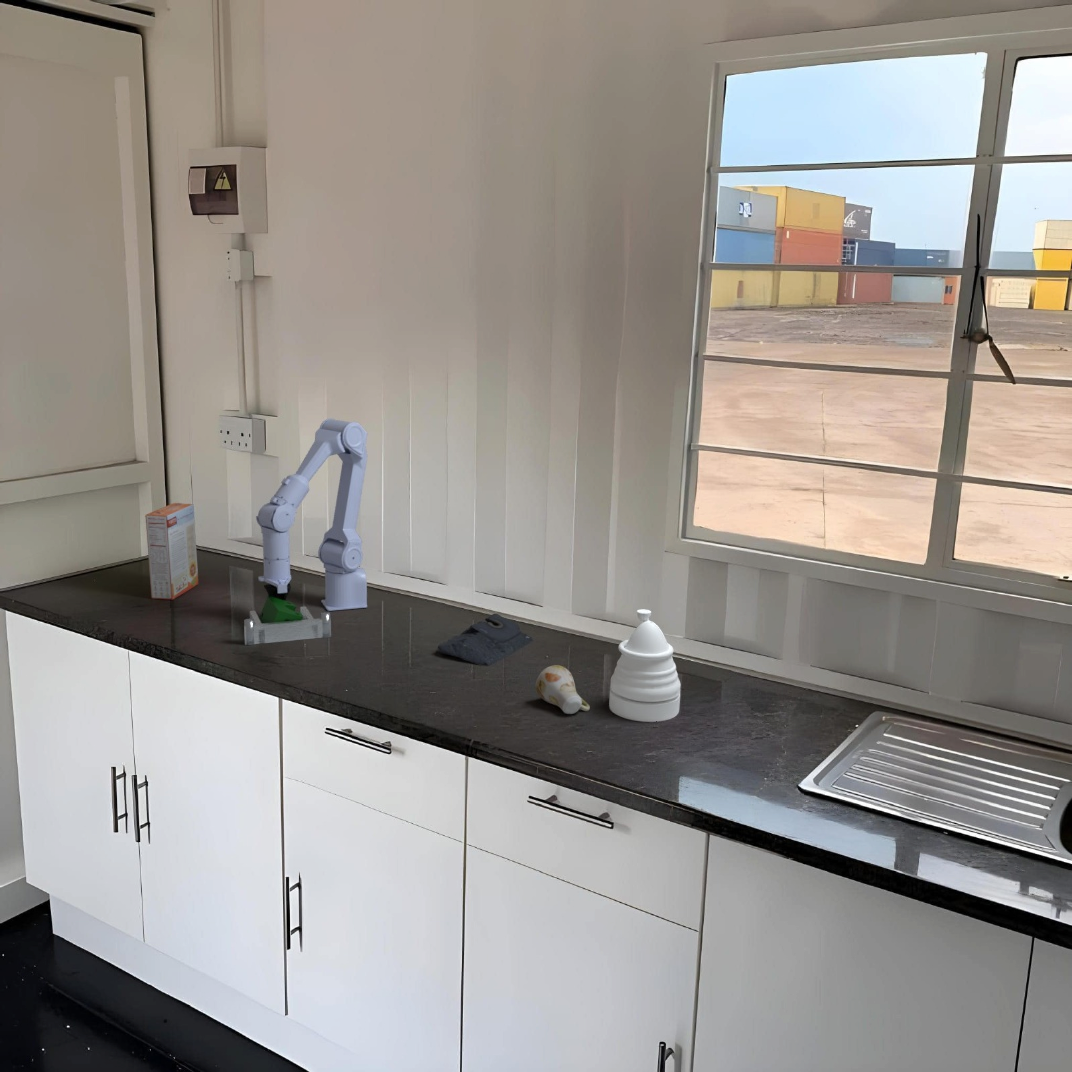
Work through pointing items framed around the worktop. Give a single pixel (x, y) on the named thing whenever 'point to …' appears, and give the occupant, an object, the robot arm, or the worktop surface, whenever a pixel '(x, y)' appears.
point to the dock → (286, 628)
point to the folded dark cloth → (487, 641)
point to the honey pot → (645, 676)
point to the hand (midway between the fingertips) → (278, 615)
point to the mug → (560, 689)
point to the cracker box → (172, 550)
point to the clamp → (279, 611)
